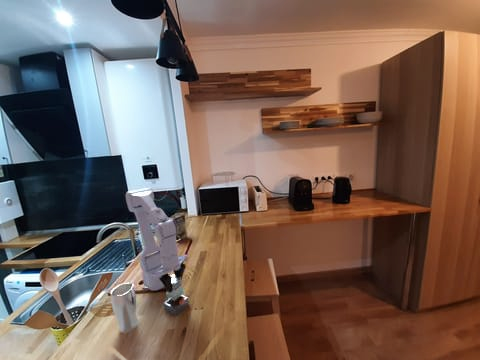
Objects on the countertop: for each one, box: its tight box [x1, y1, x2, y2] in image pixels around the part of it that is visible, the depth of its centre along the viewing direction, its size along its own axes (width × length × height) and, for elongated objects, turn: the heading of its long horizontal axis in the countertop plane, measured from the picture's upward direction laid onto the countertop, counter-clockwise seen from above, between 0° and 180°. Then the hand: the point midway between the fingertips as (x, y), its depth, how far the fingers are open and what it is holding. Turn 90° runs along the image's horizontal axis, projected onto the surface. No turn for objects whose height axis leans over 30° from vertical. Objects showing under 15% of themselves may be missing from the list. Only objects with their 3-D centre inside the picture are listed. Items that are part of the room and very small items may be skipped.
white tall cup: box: [110, 282, 139, 334], centre depth 68 cm, size 7×7×15 cm
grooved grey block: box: [165, 273, 184, 301], centre depth 74 cm, size 5×4×7 cm
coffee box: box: [168, 213, 188, 240], centre depth 134 cm, size 9×6×16 cm
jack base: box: [163, 294, 190, 317], centre depth 75 cm, size 18×14×5 cm
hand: (174, 287), depth 74 cm, fingers closed on grooved grey block, 4 cm apart
